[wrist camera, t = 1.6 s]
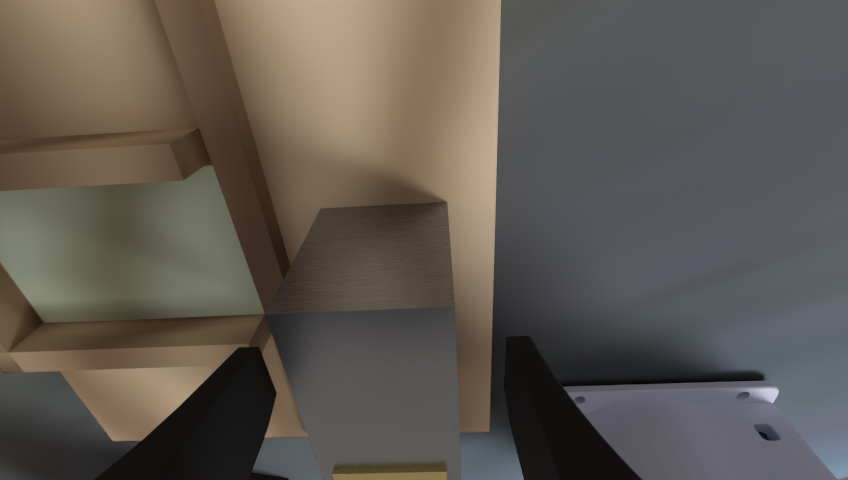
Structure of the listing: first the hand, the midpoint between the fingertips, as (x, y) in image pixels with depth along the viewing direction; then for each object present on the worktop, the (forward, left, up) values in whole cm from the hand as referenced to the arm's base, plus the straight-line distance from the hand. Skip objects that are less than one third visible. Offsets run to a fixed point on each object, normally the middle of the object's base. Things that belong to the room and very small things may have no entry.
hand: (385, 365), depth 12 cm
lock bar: (0, 0, -3) cm, 3 cm away
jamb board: (+5, -1, -4) cm, 7 cm away
